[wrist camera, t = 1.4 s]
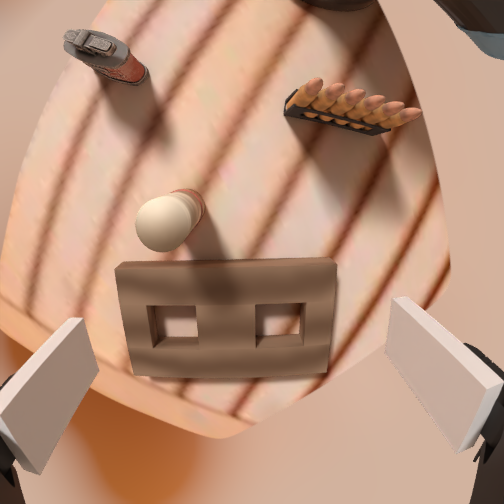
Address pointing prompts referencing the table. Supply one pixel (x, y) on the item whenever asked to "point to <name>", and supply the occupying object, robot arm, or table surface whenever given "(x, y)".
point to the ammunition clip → (347, 108)
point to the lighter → (105, 56)
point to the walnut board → (227, 316)
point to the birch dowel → (169, 219)
